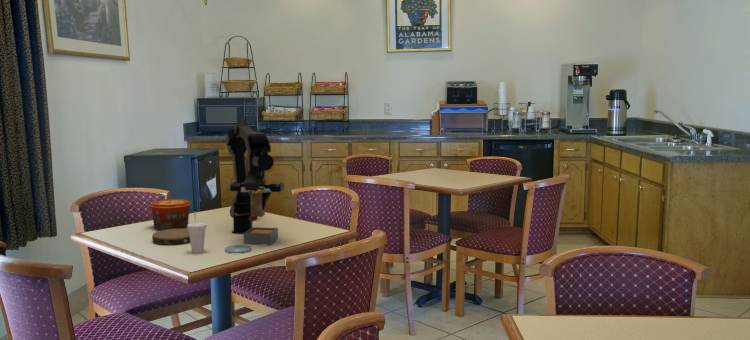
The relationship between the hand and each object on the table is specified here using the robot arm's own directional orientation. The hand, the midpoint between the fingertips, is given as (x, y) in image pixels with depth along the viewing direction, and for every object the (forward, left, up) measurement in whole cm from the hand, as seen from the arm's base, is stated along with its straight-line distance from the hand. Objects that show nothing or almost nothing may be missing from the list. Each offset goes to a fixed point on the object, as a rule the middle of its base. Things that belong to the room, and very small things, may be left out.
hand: (257, 210), depth 213 cm
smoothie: (-17, -16, -12) cm, 26 cm away
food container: (-43, +19, -12) cm, 48 cm away
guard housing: (0, +2, -12) cm, 12 cm away
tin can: (-32, -1, -13) cm, 34 cm away
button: (0, +2, -10) cm, 10 cm away
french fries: (-16, +37, -12) cm, 42 cm away
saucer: (-4, -12, -12) cm, 17 cm away
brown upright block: (0, 0, -2) cm, 2 cm away
